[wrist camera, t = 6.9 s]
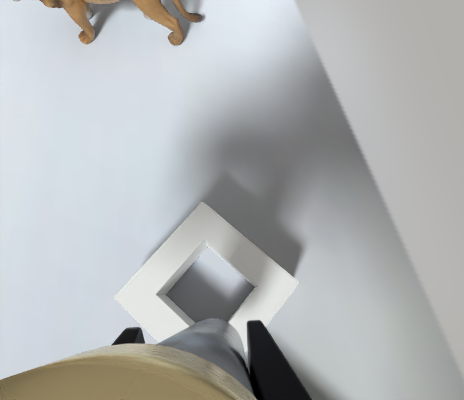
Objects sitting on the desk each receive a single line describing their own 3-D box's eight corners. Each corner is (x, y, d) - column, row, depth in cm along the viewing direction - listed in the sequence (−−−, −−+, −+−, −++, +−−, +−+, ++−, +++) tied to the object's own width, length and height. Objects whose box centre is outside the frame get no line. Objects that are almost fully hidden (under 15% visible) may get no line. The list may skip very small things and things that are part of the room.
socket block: (215, 382, 20) (212, 396, 18) (128, 297, 22) (113, 297, 19) (291, 284, 22) (299, 282, 19) (206, 212, 24) (202, 200, 21)
